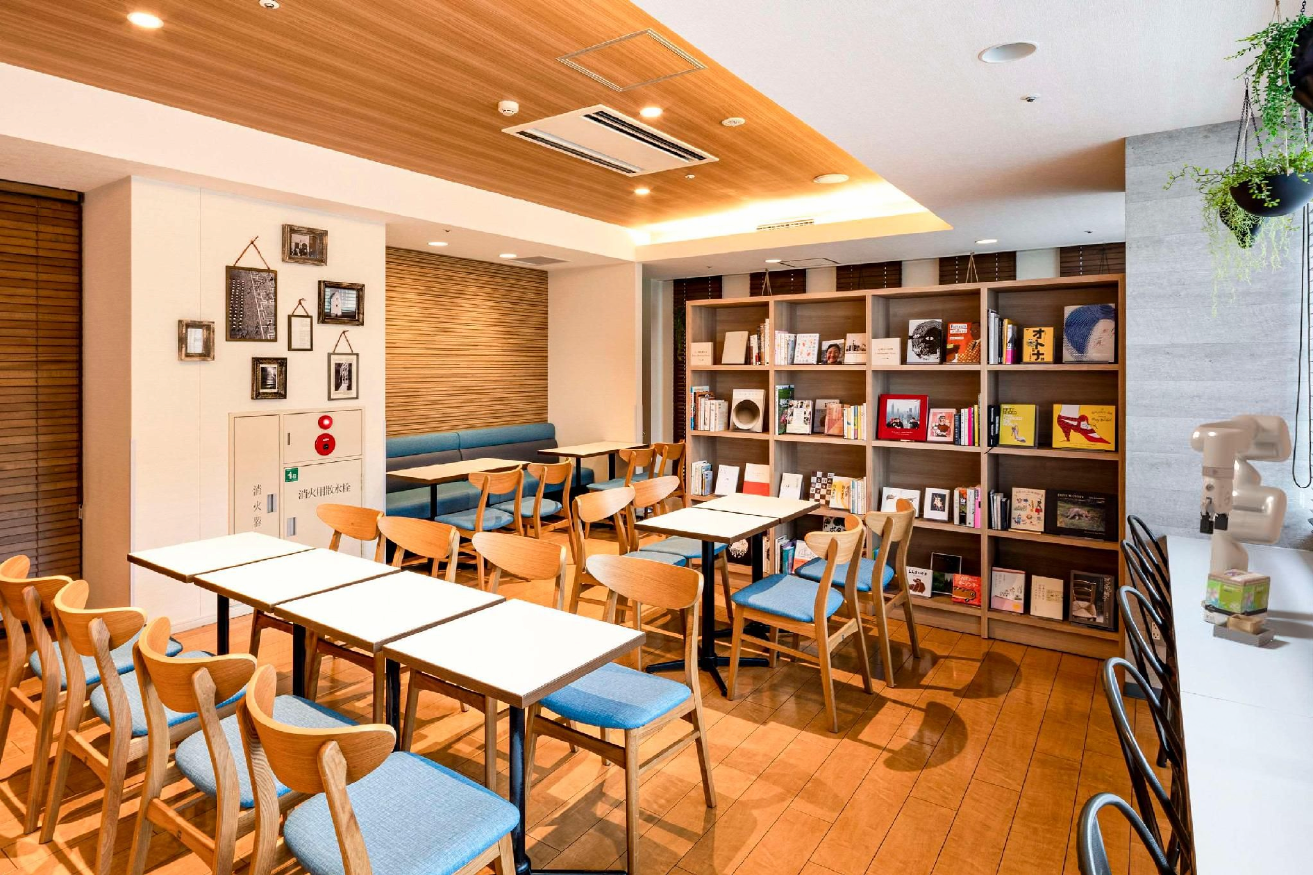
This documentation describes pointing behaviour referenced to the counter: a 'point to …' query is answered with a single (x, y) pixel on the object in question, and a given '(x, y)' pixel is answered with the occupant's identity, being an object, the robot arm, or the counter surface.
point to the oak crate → (1244, 624)
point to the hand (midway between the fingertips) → (1213, 531)
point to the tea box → (1236, 595)
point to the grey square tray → (1243, 635)
